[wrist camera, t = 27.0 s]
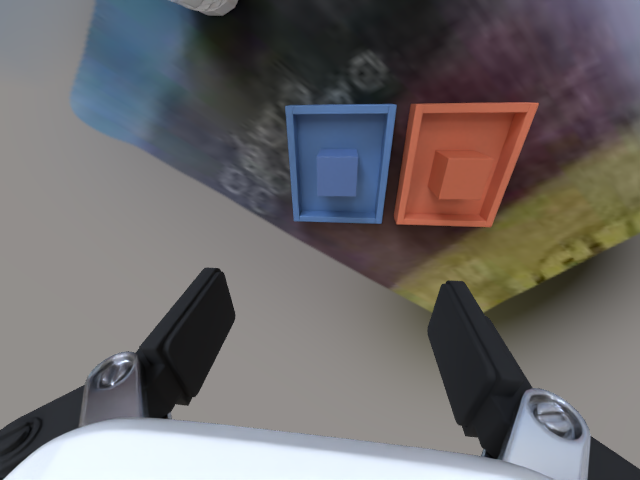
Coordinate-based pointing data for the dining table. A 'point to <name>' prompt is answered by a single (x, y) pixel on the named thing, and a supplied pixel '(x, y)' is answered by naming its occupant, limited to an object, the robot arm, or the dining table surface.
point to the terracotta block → (459, 174)
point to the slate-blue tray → (340, 133)
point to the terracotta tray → (459, 134)
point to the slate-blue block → (337, 172)
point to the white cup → (208, 6)
